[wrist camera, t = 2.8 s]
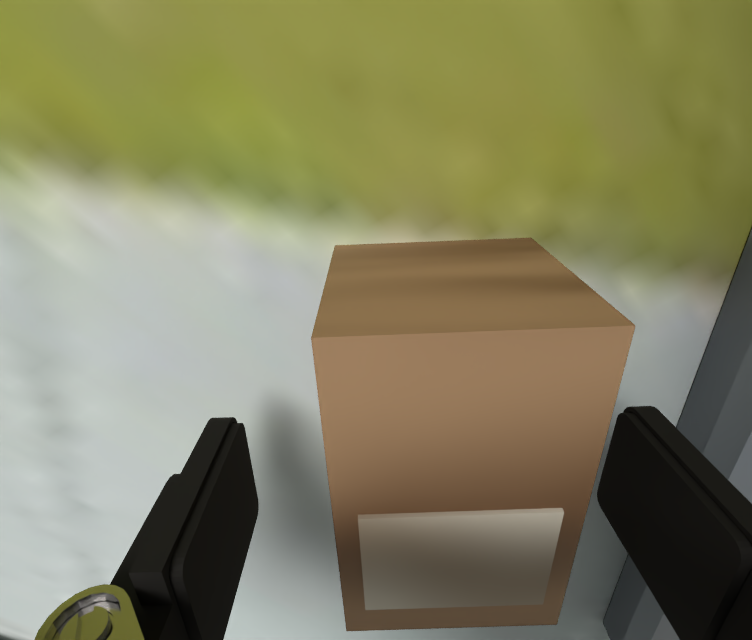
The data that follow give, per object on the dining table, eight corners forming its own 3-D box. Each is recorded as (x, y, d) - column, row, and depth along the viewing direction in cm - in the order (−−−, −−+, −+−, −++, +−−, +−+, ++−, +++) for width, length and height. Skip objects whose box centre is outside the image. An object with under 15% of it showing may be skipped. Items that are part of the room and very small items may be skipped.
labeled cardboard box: (335, 243, 11) (310, 340, 7) (529, 236, 11) (639, 328, 7) (354, 471, 15) (346, 635, 10) (500, 465, 15) (558, 629, 10)
